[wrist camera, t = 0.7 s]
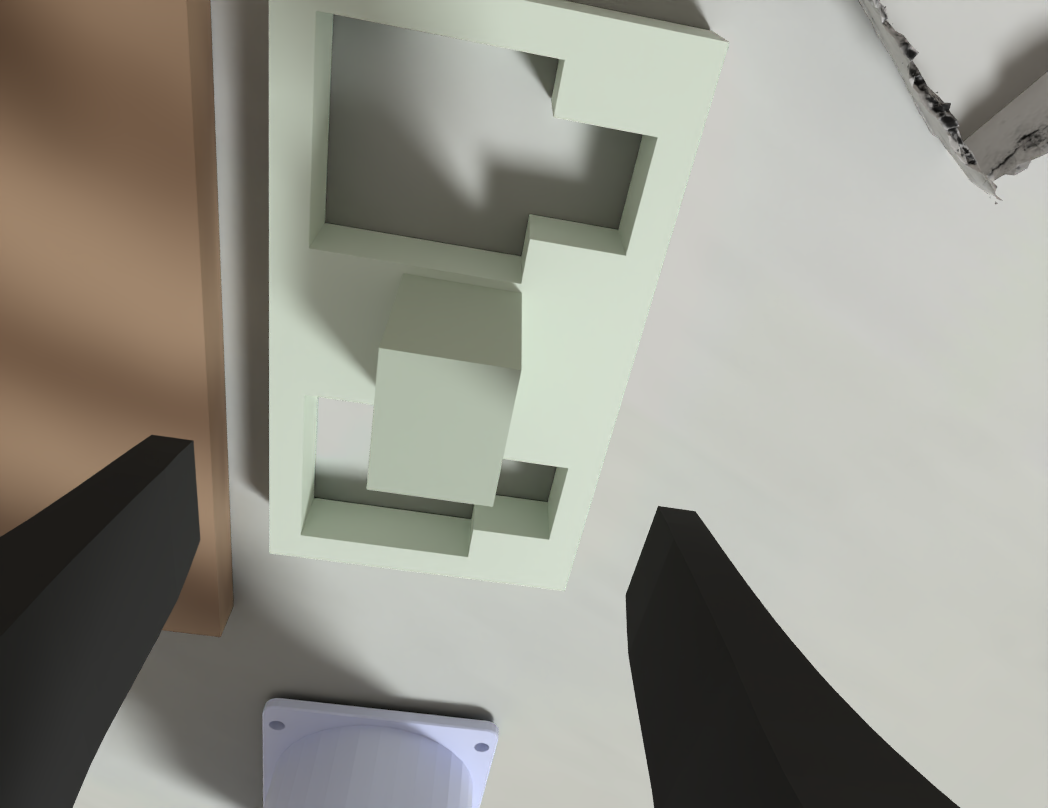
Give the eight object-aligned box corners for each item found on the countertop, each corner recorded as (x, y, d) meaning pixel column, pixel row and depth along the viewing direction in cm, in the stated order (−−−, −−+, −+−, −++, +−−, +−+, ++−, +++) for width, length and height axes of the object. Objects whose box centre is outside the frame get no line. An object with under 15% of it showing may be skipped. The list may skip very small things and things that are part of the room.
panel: (562, 552, 22) (570, 691, 18) (284, 515, 21) (230, 652, 18) (711, 30, 15) (781, 76, 11) (291, -57, 14) (200, -42, 10)
